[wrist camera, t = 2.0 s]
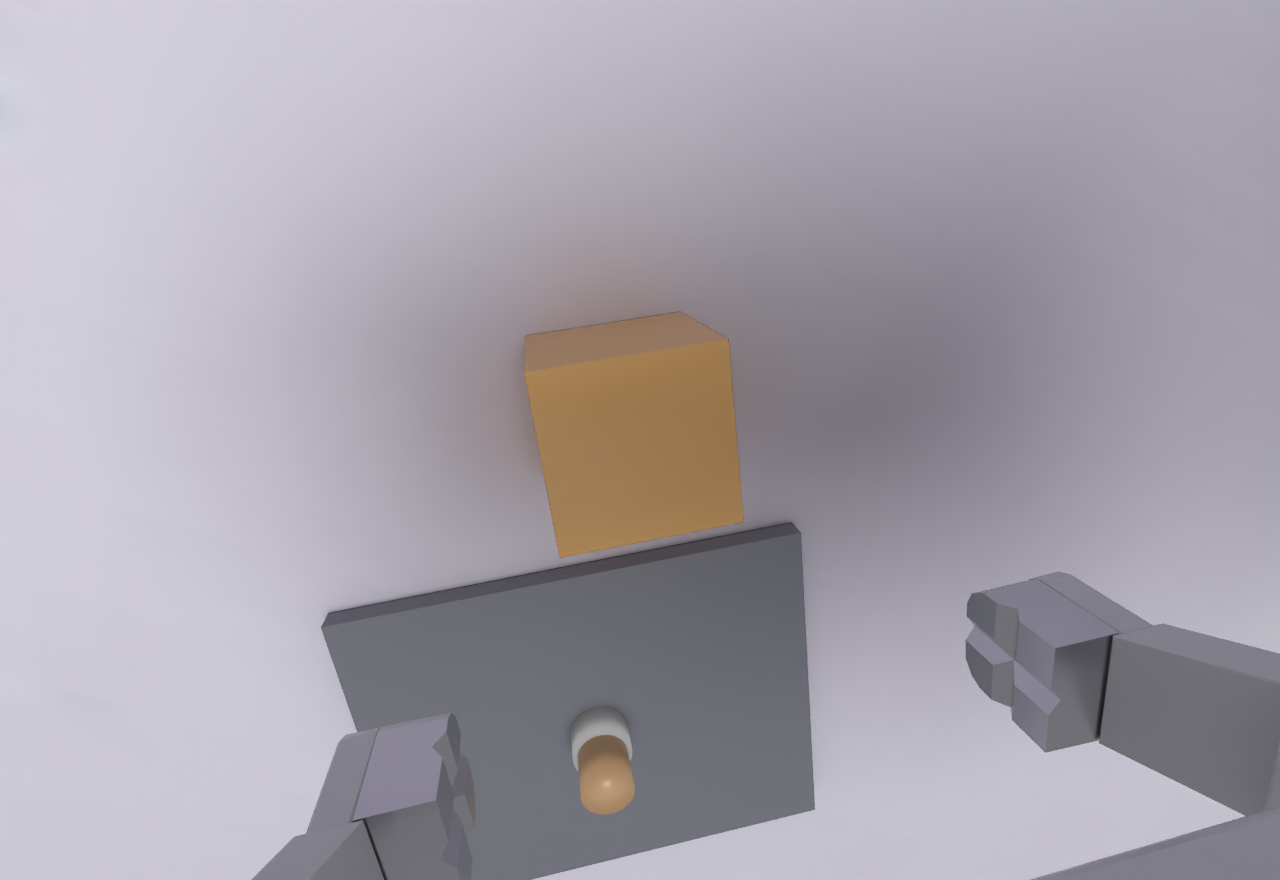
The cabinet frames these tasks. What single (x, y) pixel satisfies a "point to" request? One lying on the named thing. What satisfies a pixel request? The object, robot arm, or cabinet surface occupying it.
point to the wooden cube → (634, 430)
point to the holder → (604, 697)
